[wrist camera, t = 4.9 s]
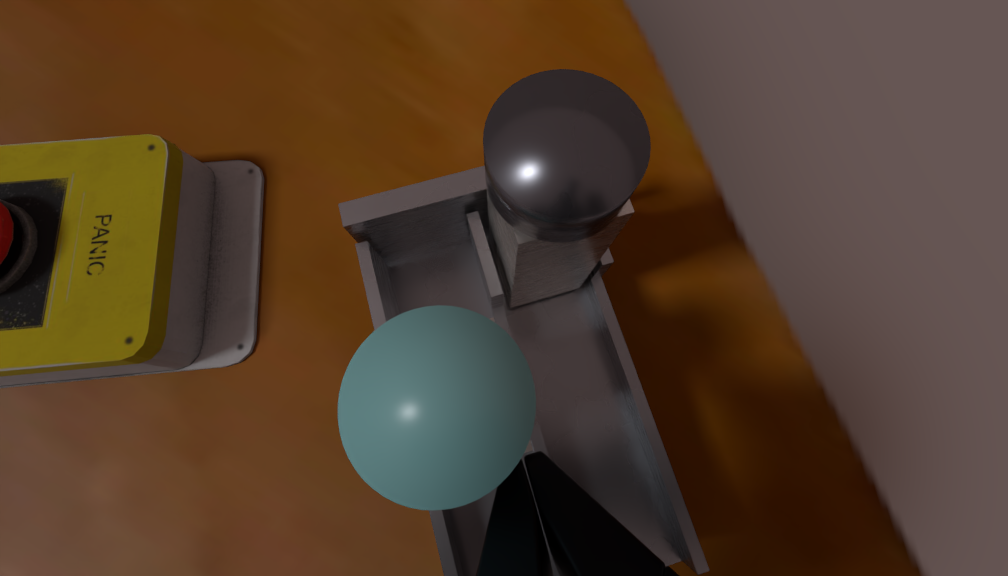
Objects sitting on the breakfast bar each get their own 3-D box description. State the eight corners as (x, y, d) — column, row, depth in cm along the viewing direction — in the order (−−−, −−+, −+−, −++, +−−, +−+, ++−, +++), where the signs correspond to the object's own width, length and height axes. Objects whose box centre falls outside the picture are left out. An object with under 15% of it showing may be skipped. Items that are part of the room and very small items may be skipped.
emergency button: (-220, 133, 15) (209, 102, 16) (-63, 191, 19) (270, 165, 20) (-320, 402, 13) (187, 354, 13) (-117, 401, 17) (262, 365, 18)
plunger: (527, 433, 15) (562, 473, 7) (435, 462, 15) (360, 539, 7) (501, 342, 16) (504, 283, 8) (412, 368, 16) (321, 335, 8)
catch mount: (678, 545, 16) (959, 773, 6) (468, 618, 15) (418, 1006, 5) (558, 209, 19) (618, 17, 9) (382, 257, 18) (255, 103, 9)
